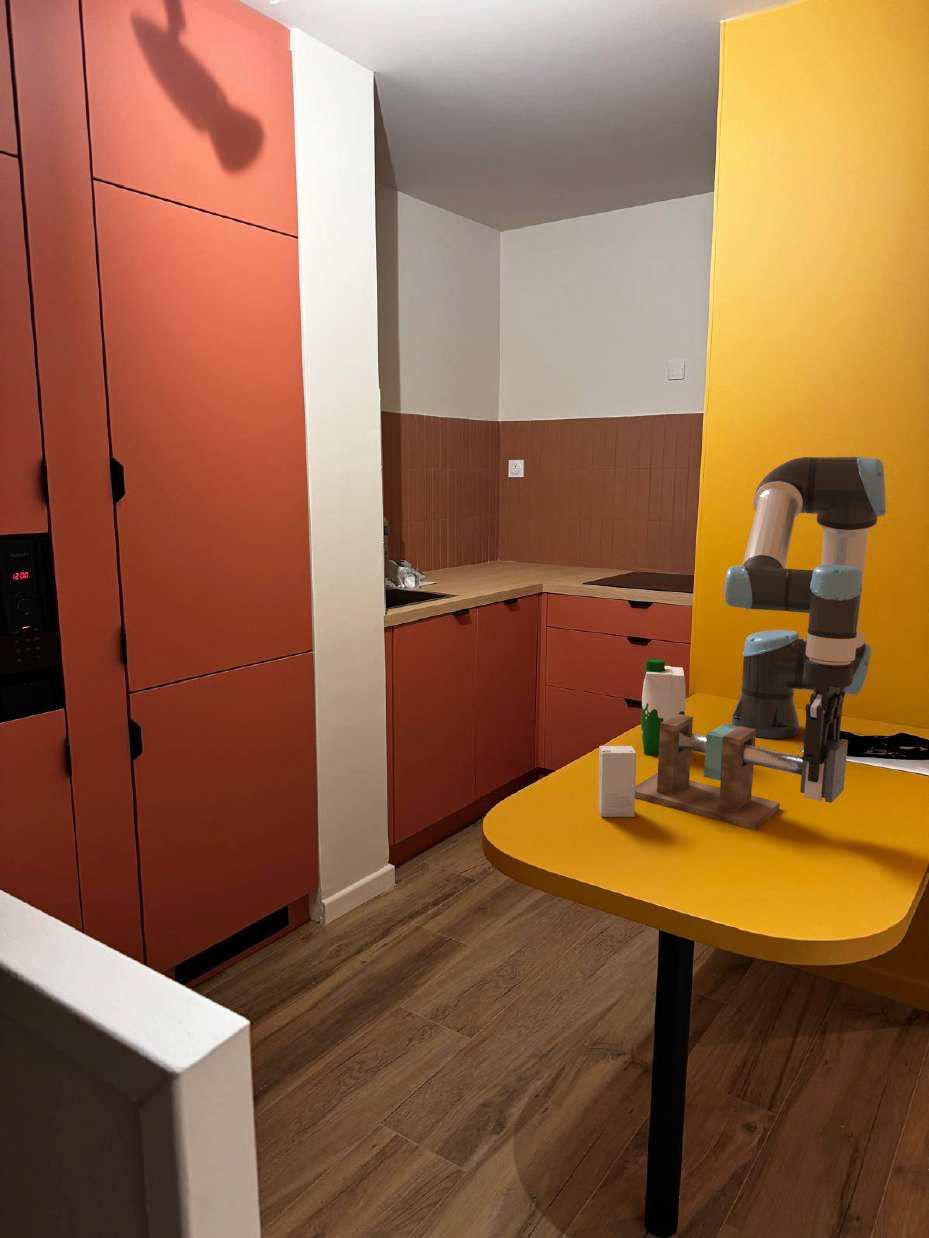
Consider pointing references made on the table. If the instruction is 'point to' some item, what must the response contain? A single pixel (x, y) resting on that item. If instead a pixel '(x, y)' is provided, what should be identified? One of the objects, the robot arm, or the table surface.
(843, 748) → the shaft
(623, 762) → the skincare box
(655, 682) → the milk carton
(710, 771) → the spacer ring
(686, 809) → the bearing stand
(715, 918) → the table surface
